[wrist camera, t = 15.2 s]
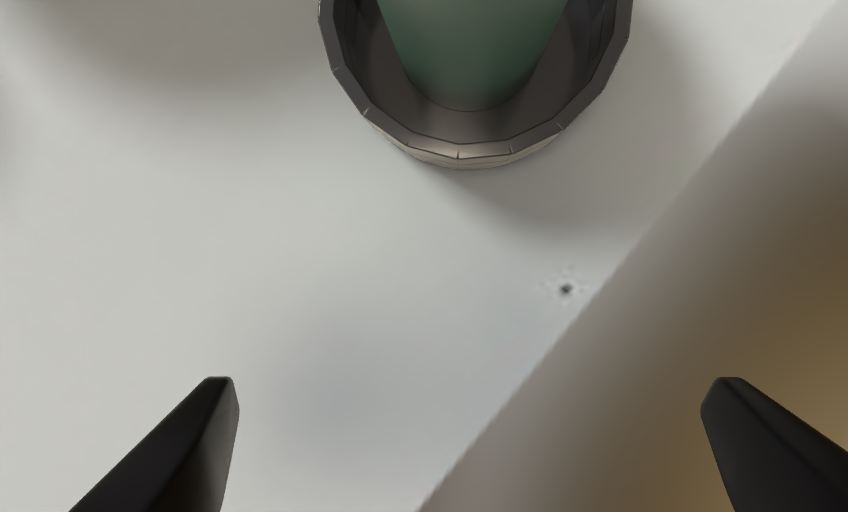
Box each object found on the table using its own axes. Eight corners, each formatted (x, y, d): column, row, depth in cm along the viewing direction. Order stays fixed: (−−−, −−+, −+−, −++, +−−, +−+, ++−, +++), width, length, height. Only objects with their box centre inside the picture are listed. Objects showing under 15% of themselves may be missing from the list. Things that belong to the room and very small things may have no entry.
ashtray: (648, -31, 18) (692, -91, 15) (529, 212, 19) (544, 210, 15) (410, -136, 18) (397, -219, 15) (305, 107, 19) (270, 82, 16)
